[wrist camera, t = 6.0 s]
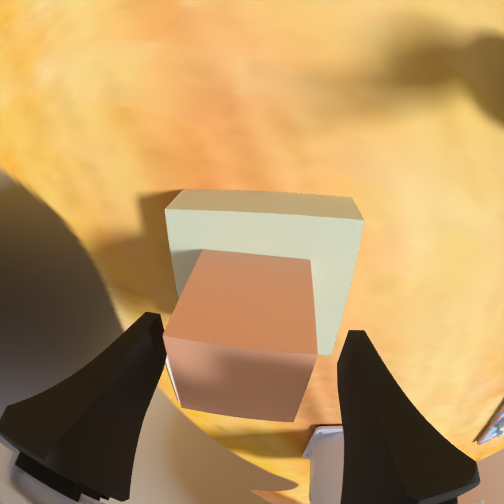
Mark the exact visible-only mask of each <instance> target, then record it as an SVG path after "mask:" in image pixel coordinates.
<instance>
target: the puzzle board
mask: <svg viewBox="0 0 504 504" xmlns="http://www.w3.org/2000/svg"><path fill="white" fill-rule="evenodd" d="M503 434H504V402H503V404H502V406H501V407H500V409H499V410H498V412H497V413H496V414H495V416H494V417H493V419H492V420H491V422H490V423H489V425H488V426H487V427H486V429H485V430H484V431H483V433H482V434H481V435H480V437H479V438H478V439H477V445H480V444H482V443H484V442H486V441H488V440H490V439H492V438H494V437H496V436H498V437H500V436H502V435H503Z"/></svg>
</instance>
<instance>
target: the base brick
mask: <svg viewBox="0 0 504 504" xmlns="http://www.w3.org/2000/svg"><path fill="white" fill-rule="evenodd" d="M165 217H166V225H167V233H168V240H169V247H170V254H171V260H172V267H173V273H174V279H175V285H176V290H177V296H178V300H179V298H180V296H181V294H182V292H183V290H184V288H185V285H186V283H187V281H188V279H189V277H190V275H191V273H192V271H193V269H194V267H195V264H196V262H197V260H198V258H199V256H200V254H201V252H202V250H203V249H207V250H216V251H226V252H236V253H246V254H256V255H266V256H276V257H286V258H296V259H306V260H310V262H311V272H312V283H313V294H314V306H315V319H316V333H317V349H318V355H331V354H332V351H333V347H334V344H335V341H336V337H337V334H338V330H339V327H340V323H341V320H342V316H343V313H344V309H345V305H346V301H347V297H348V293H349V289H350V285H351V281H352V277H353V273H354V268H355V264H356V259H357V255H358V250H359V245H360V240H361V235H362V230H363V225H364V219H363V217H362V215H361V213H360V211H359V209H358V208H357V206H356V204H355V202H354V200H353V199H352V198H349V197H338V196H326V195H314V194H300V193H284V192H266V191H244V190H211V189H183V190H182V191H181V192H180V193H179V194H178V195H177V196H176V197H175V199H174V200H173V201H172V202H171V203H170V204H169V205H168V206H167V207H166V208H165Z"/></svg>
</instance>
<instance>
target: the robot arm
mask: <svg viewBox="0 0 504 504" xmlns="http://www.w3.org/2000/svg"><path fill="white" fill-rule="evenodd" d="M163 333H164V328H163V324H162V320H161V316H160V314H157V313H151V312H145V313H144V314H143V315H142V316H141V317H140V318H139V319H138V320H137V321H136V322H135V323H133V324H132V325H131V326H130V327H129V328H128V329H127V330H126V331H125V332H124V333H123V334H122V335H121V336H120V337H119V338H118V339H116V341H114V342H113V343H112V344H111V345H110V346H109V347H108V348H106V349H105V350H104V351H103V352H102V353H101V354H99V355H98V356H97V357H96V358H95V359H93V360H92V361H91V362H90V363H88V364H87V365H86V366H84V367H83V368H82V369H80V370H79V371H77V372H76V373H75V374H73V375H72V376H70V377H69V378H67V379H65V380H64V381H62V382H60V383H58V384H57V385H55V386H53V387H52V388H50V389H48V390H46V391H44V392H42V393H40V394H38V395H35V396H33V397H31V398H29V399H26V400H23V401H21V402H18V403H15V404H12V405H9V406H7V407H6V409H5V411H4V413H3V415H2V416H1V418H0V435H1V436H2V437H3V438H4V439H5V440H7V441H8V442H9V443H10V444H12V445H13V446H14V447H15V448H17V449H18V450H19V451H20V453H19V456H18V455H17V454H15V453H14V452H12V451H11V450H10V449H8V448H7V447H6V446H4V445H3V444H1V443H0V501H1V502H2V503H3V504H104V503H102V502H100V501H99V500H100V497H101V498H103V499H106V500H109V498H110V497H111V498H114V499H116V500H119V501H121V502H122V501H126V500H128V499H129V494H130V484H131V475H132V469H133V463H134V457H135V452H136V447H137V443H138V438H139V434H140V431H141V427H142V423H143V420H144V416H145V413H146V411H147V408H148V406H149V404H150V401H151V399H152V396H153V393H154V391H155V389H156V386H157V384H158V381H159V379H160V376H161V374H162V371H163V368H164V365H165V361H166V357H167V352H166V348H165V344H164V340H163ZM337 382H338V394H339V402H340V410H341V418H342V426H319V427H317V428H316V429H315V431H314V433H313V435H312V437H311V439H310V441H309V443H308V445H307V447H306V449H305V451H304V453H303V454H302V458H305V459H310V484H309V500H310V503H311V504H457V503H458V501H457V497H458V496H460V495H461V494H464V493H465V492H467V491H469V490H471V489H473V488H475V487H476V486H477V485H479V483H480V477H479V472H478V467H477V464H476V461H474V460H473V459H471V458H470V457H469V456H467V455H466V454H464V453H463V452H461V451H460V450H459V449H457V448H456V447H455V446H454V445H452V444H451V443H450V442H449V441H448V440H447V439H445V438H444V437H443V436H442V435H441V434H440V433H439V432H438V431H437V430H436V429H435V428H434V427H433V426H432V425H431V424H430V423H429V422H428V421H427V420H426V419H425V418H424V417H423V416H422V415H421V413H420V412H419V411H418V410H417V409H416V407H415V406H414V405H413V404H412V403H411V401H410V400H409V399H408V397H407V396H406V395H405V393H404V392H403V391H402V389H401V388H400V386H399V385H398V384H397V382H396V381H395V379H394V378H393V376H392V375H391V373H390V372H389V370H388V369H387V367H386V365H385V364H384V362H383V361H382V359H381V357H380V356H379V354H378V352H377V351H376V349H375V347H374V346H373V344H372V342H371V341H370V339H369V337H368V336H367V334H366V332H365V331H364V330H349V331H348V334H347V337H346V340H345V343H344V346H343V349H342V352H341V354H340V357H339V360H338V363H337ZM473 504H484V500H480V501H478V502H476V503H473Z"/></svg>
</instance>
